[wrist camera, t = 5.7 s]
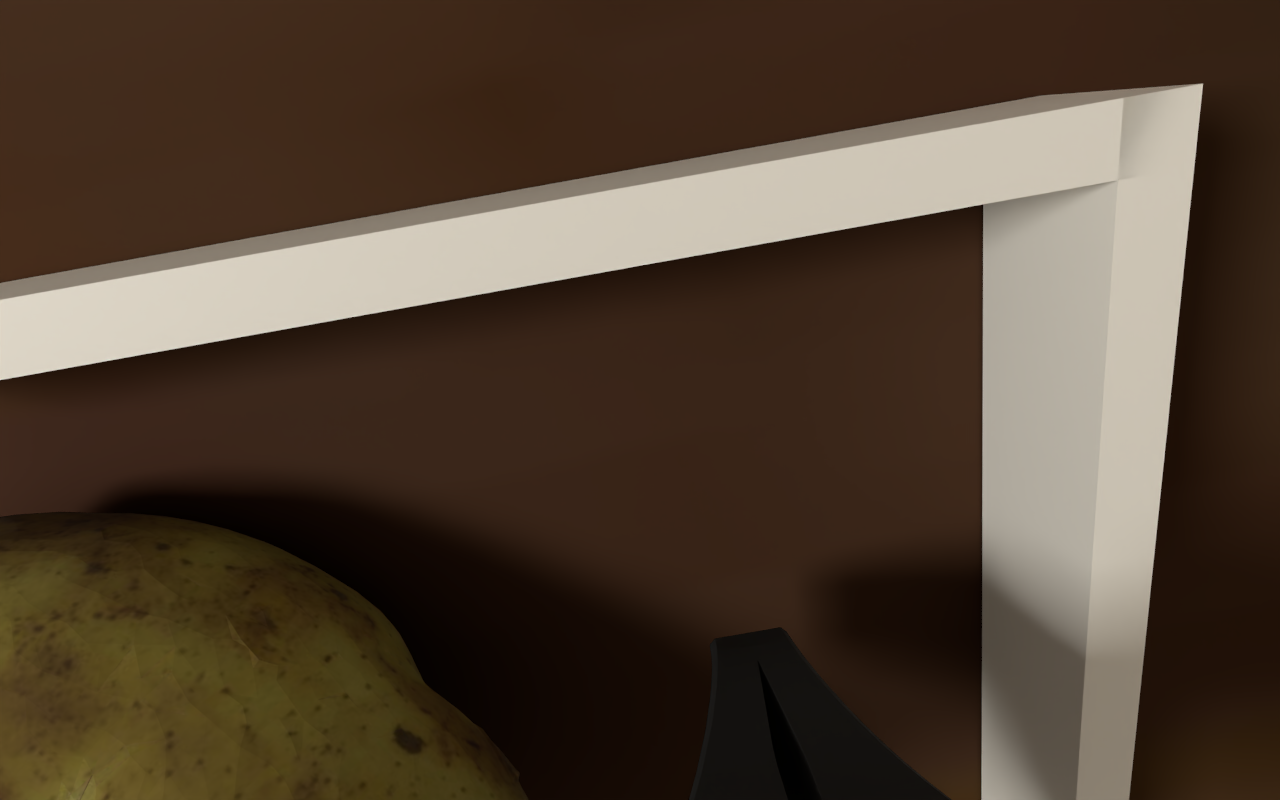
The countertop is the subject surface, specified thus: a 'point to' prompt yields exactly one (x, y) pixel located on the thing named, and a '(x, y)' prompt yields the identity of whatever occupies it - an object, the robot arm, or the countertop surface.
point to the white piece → (796, 207)
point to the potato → (211, 675)
